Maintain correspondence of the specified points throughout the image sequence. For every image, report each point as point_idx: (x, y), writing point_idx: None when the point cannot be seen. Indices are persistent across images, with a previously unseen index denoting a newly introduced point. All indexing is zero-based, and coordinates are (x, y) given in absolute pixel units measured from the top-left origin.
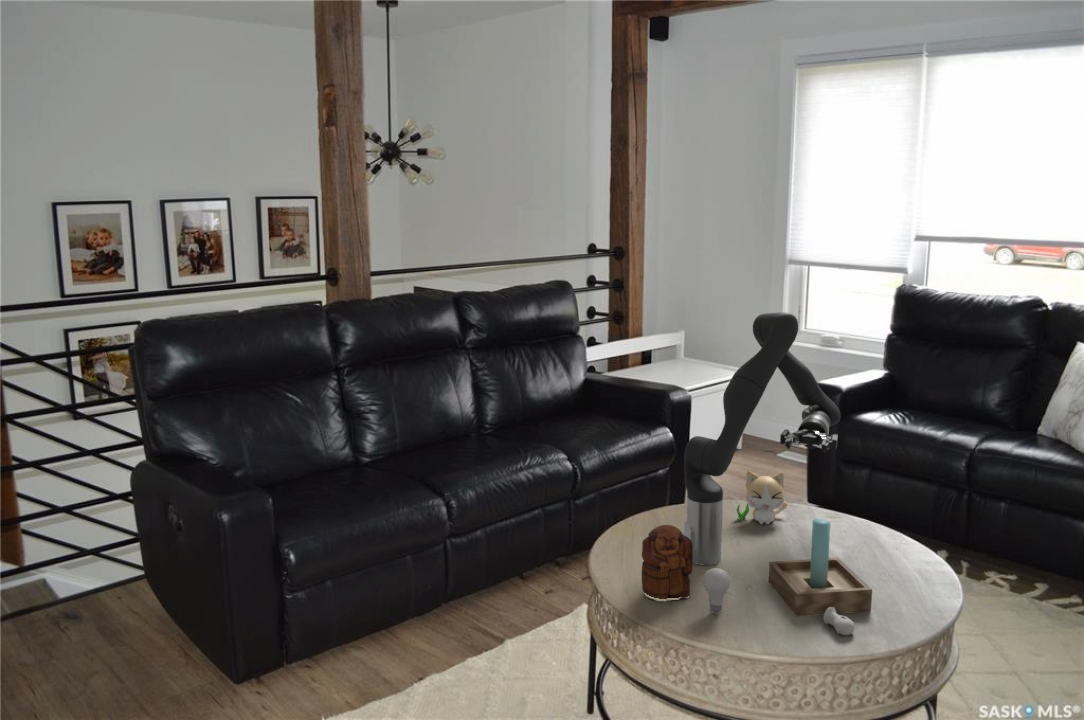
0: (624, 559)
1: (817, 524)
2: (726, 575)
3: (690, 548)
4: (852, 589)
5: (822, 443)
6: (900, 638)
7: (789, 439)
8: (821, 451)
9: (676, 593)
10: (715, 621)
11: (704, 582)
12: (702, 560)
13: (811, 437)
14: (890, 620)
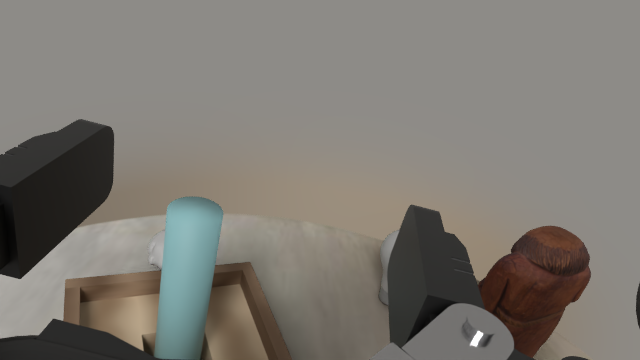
0: None
1: (212, 201)
2: (391, 235)
3: (492, 267)
4: (118, 278)
5: (91, 132)
6: (65, 243)
7: (430, 231)
8: (111, 183)
9: None
10: (379, 281)
11: None
12: None
13: (116, 343)
14: (42, 292)
